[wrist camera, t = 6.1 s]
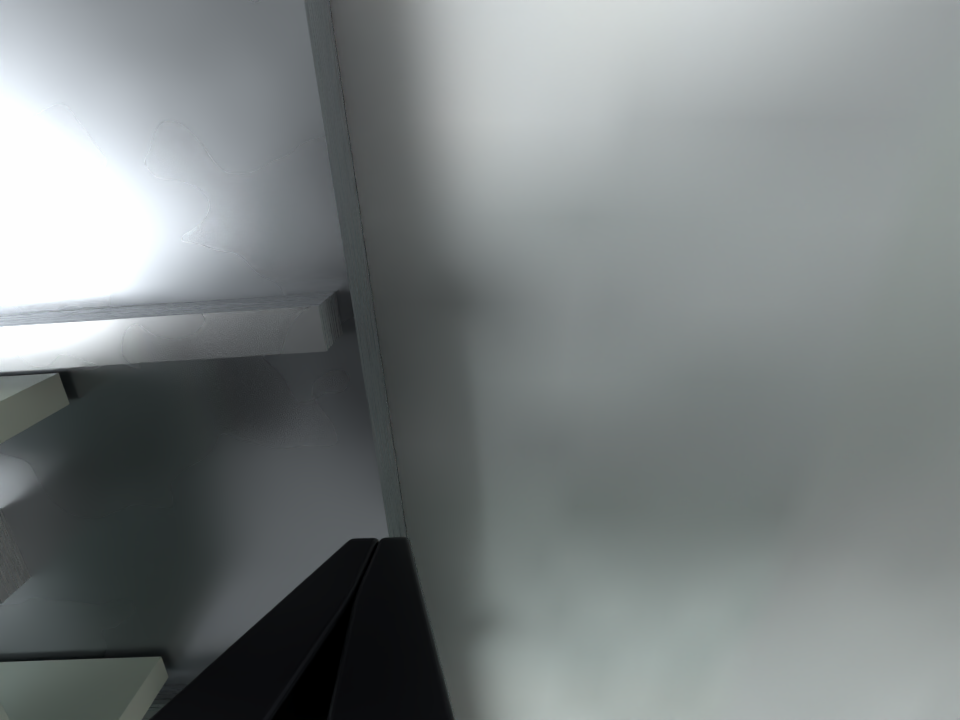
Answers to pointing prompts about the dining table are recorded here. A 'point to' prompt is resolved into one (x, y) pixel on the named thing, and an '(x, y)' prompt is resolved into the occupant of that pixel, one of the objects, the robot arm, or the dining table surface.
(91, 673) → the housing cover
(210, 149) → the housing base
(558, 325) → the dining table surface
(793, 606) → the dining table surface
